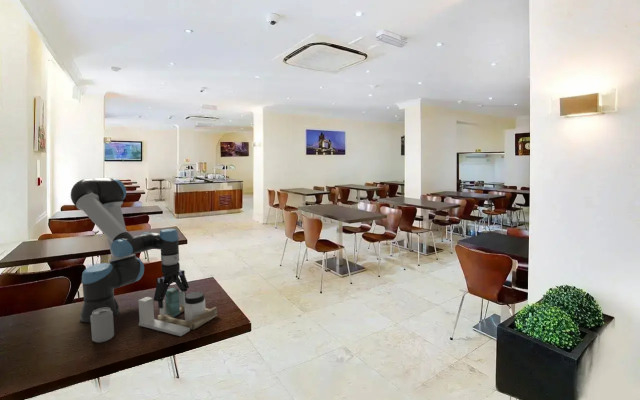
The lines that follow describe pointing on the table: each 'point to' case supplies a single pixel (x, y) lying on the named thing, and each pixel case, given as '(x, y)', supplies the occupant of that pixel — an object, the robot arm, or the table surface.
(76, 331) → the table surface
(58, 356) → the table surface
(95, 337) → the can
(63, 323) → the table surface
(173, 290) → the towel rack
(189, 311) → the jar
